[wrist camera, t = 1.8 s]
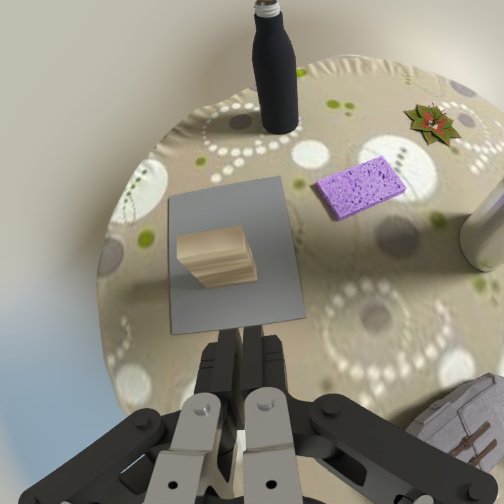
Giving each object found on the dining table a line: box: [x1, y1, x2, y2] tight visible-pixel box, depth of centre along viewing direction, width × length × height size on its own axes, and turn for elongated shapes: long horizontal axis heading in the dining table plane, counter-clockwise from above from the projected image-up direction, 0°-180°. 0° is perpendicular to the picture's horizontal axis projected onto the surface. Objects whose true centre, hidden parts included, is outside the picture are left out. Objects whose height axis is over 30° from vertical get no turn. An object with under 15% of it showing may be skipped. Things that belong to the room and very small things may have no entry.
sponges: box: [316, 156, 406, 221], centre depth 46 cm, size 7×13×2 cm, turn 112°
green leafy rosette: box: [404, 103, 462, 147], centre depth 48 cm, size 12×12×5 cm
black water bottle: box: [252, 0, 299, 134], centre depth 39 cm, size 6×6×30 cm
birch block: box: [176, 225, 258, 289], centre depth 38 cm, size 3×7×12 cm, turn 97°
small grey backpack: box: [405, 373, 504, 473], centre depth 27 cm, size 15×8×20 cm
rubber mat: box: [169, 176, 306, 335], centre depth 45 cm, size 22×18×1 cm
